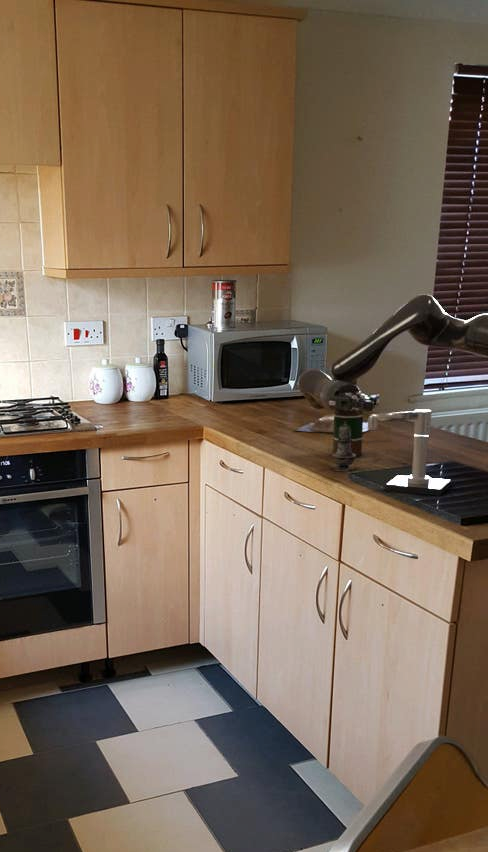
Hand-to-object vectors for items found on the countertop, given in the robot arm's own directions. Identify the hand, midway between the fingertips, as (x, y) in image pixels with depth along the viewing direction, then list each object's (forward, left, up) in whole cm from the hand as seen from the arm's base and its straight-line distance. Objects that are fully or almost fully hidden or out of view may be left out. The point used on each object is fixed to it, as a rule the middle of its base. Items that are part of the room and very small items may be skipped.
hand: (369, 406), depth 196 cm
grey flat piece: (+32, -75, -18) cm, 84 cm away
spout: (-7, +2, -6) cm, 10 cm away
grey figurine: (+10, -15, -18) cm, 26 cm away
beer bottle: (+15, -33, -18) cm, 41 cm away
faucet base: (-12, -1, -18) cm, 22 cm away
